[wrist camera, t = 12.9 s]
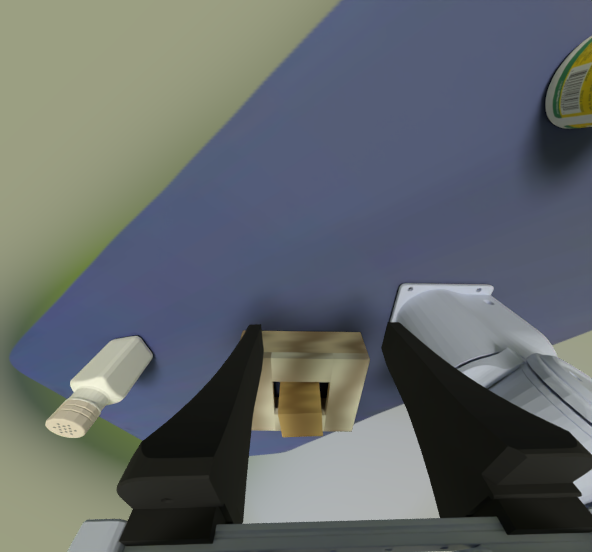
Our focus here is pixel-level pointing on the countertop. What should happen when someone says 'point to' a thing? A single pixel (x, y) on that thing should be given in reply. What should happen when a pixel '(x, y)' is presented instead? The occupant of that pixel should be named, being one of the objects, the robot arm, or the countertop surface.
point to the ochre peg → (300, 409)
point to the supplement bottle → (572, 90)
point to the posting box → (313, 374)
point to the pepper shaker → (100, 385)
